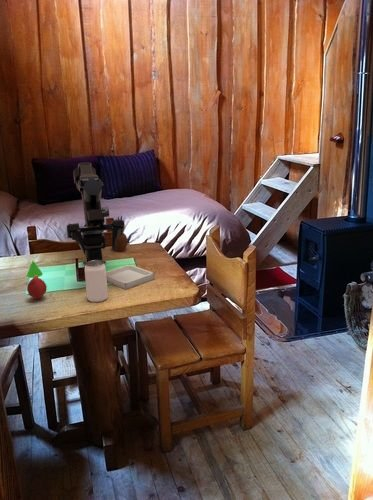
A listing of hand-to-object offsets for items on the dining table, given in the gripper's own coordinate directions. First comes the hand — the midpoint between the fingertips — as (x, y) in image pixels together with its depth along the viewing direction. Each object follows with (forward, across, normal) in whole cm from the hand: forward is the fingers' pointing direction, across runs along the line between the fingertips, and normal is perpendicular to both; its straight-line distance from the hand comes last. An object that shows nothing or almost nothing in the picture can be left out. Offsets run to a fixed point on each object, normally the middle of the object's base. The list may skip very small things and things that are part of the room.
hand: (99, 252), depth 150 cm
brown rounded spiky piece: (-15, +12, +39) cm, 44 cm away
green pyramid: (-3, -22, +25) cm, 33 cm away
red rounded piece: (+11, -20, +6) cm, 24 cm away
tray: (+6, +10, +12) cm, 17 cm away
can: (+15, -2, +2) cm, 15 cm away
